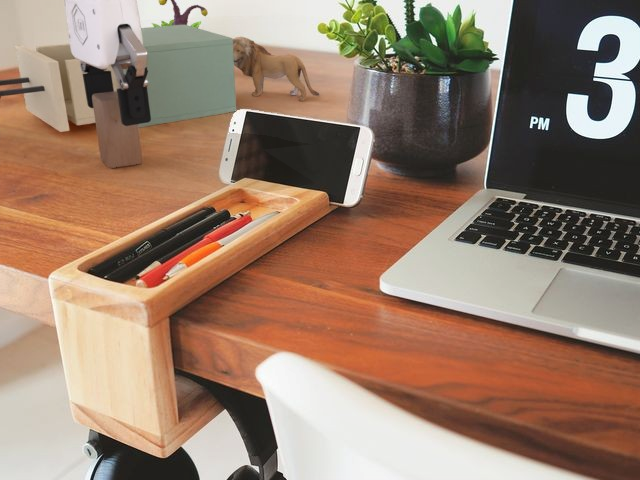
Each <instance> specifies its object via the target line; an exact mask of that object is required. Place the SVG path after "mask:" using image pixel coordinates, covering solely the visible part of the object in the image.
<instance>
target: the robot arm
mask: <svg viewBox="0 0 640 480" xmlns="http://www.w3.org/2000/svg"><path fill="white" fill-rule="evenodd" d="M64 10H65V18H66V25H67V34H68V41H69V44H70V48H71V53H72V54H73V56H74V57H75V58H76V59H78V60H80V61H81V63H80V67H81V70H82V72H83V73H85V74H83V80H84V86H85V92H86V98H87V104H88V106H89V107H90V108H93V102H92V95H93V94H95V93H104V92H114V89H113V82H112V75H111V71H104V70H107V68H108V66H109V65H111V67H112V69H113V71H114V74H115V76H116V78H117V81H118V83H119V85H120V88H119V89H117V95H118V101H119V108H120V115H121V122H122V124H123V125H125V126H130V125H136V124H142V123H148V122H150V121H151V115H150V107H149V99H148V91H147V86H148V80H147V72H148V70H147V67H146V65H147V50H146V49H145V47H144V46H143V38H142V30H141V28H142V26H141V25H142V24H141V18H140V13H139V12H140V11H139V7H138V1H137V0H64ZM123 69H127V72H126V75H125V74H124V72H123Z"/></svg>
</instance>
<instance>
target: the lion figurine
mask: <svg viewBox="0 0 640 480" xmlns="http://www.w3.org/2000/svg"><path fill="white" fill-rule="evenodd" d="M233 57H234V67H236V68H237V69H239V70H240V71H241V72H242V74H243V75H244V76H246V77H250V78H252V82H253V85H254V91H252V92H251V96H252V97H253V98H254V97H259V96H261V94H262V92H263V91H264V84H265V83H264V82H265V81H264V80H265V78H268V79H280V78H282V77H284V76H285V77H286V78H287V80H288V81H289V82H290V84H291V85H292V86H294V89H293V90H290V91H289V95H290V96H296V95H298V94H299V92H300V95H298V96H297V100H298V101H299V100H300V102H304V101H305V100H306V99H307V91H306V90H307V89H308V91H309V92H310V94H311V95H313V96H315V97H319V96H320V93H319V92H317V91H315V90H314V89H313V88H312V87H311V84H310V81H309V77H308V72H307V70H306V69H307V68H306V67H305V65H304V62H303V61H302V60H301V59H300V58H299V56H297V55H294V54H290V53H287V54H283V55H275V54H272V53H270V52H269V51H268V50H267V49H266V48H265V47H264V46H262V45H260V44H258V43H256V42H255V41H254V40H251V39H249V38H247V37H244V36H236V37H234V38H233ZM301 74H302V75H303V78H304V81H305V84H306V86H305V84H304V83H303V82H302V81H301V79H300V77H301ZM306 87H307V89H306Z"/></svg>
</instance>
